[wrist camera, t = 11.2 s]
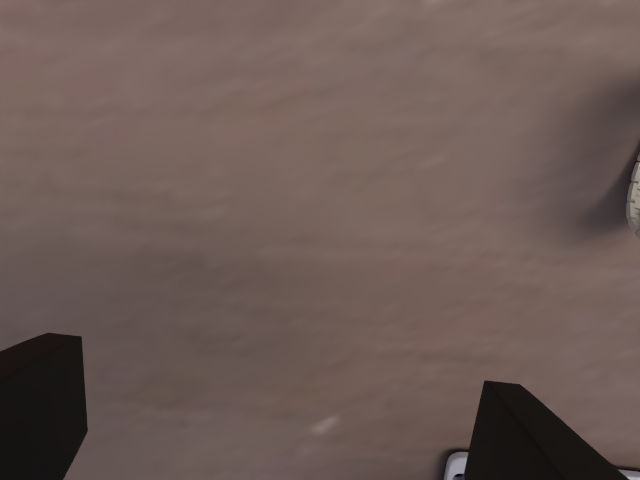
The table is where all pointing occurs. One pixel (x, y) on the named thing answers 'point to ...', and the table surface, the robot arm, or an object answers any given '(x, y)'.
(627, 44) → the table surface
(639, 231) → the wristwatch
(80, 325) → the table surface
